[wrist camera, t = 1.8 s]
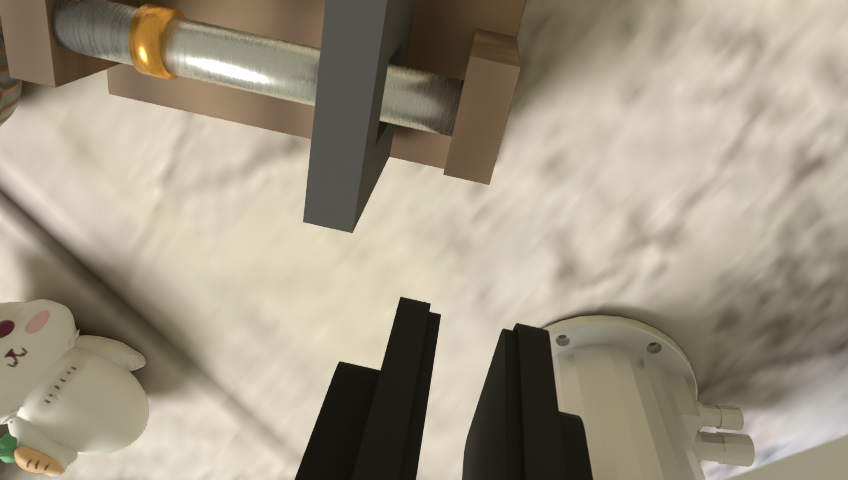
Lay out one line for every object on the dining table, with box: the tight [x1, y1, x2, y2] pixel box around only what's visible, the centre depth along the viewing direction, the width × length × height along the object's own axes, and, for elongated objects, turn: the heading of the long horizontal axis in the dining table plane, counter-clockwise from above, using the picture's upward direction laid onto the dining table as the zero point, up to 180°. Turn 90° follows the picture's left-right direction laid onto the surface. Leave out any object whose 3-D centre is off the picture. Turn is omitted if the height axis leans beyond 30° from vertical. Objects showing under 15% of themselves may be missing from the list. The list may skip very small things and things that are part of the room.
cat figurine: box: [0, 299, 149, 477], centre depth 39 cm, size 10×8×15 cm
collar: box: [303, 0, 417, 233], centre depth 25 cm, size 2×9×9 cm, turn 169°
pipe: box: [51, 0, 464, 137], centre depth 25 cm, size 18×3×3 cm, turn 79°
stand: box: [0, 0, 526, 185], centre depth 27 cm, size 21×10×8 cm, turn 79°
